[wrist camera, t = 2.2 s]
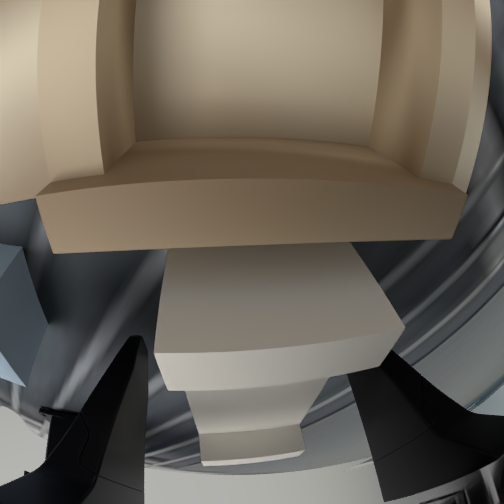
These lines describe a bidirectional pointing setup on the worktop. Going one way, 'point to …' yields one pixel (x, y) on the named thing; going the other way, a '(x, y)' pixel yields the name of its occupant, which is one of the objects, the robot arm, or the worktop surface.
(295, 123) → the jig
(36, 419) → the worktop surface
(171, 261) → the white notched block
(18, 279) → the blue-grey rectangular block
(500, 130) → the worktop surface
